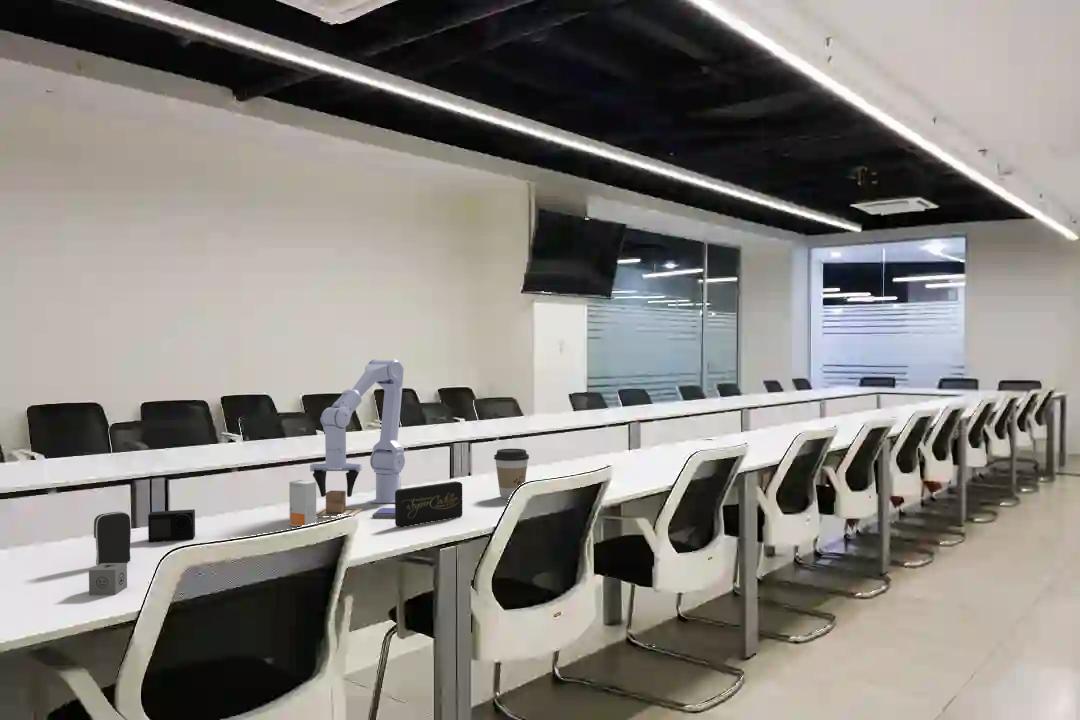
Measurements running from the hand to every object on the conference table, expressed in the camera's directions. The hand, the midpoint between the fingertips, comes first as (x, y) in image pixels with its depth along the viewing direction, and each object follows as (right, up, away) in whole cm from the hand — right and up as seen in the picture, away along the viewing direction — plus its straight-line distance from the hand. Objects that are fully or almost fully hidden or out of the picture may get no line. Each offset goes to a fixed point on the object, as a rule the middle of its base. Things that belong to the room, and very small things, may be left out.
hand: (336, 496), depth 236 cm
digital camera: (-34, -6, -31) cm, 46 cm away
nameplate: (+28, -6, -11) cm, 31 cm away
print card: (0, -5, 0) cm, 5 cm away
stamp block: (0, -5, 0) cm, 5 cm away
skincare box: (-5, -6, -16) cm, 17 cm away
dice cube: (-27, -7, -74) cm, 79 cm away
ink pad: (+16, -5, -2) cm, 17 cm away
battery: (-37, -6, -54) cm, 65 cm away
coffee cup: (+50, -5, +25) cm, 56 cm away
